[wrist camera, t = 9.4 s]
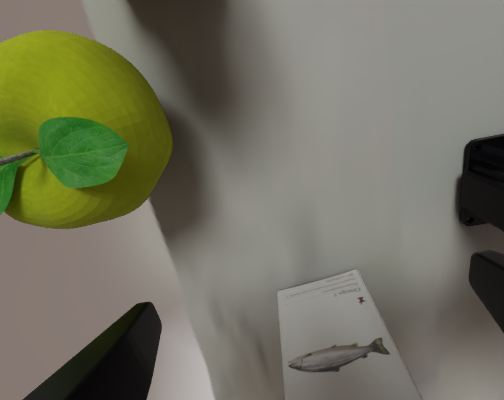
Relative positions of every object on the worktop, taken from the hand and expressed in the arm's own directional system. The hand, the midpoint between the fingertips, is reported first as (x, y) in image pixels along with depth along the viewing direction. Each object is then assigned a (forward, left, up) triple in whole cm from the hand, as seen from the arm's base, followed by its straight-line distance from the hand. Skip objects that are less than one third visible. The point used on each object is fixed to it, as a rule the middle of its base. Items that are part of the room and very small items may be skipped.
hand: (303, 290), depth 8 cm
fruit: (+10, -5, -13) cm, 17 cm away
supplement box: (-2, +14, -13) cm, 19 cm away
